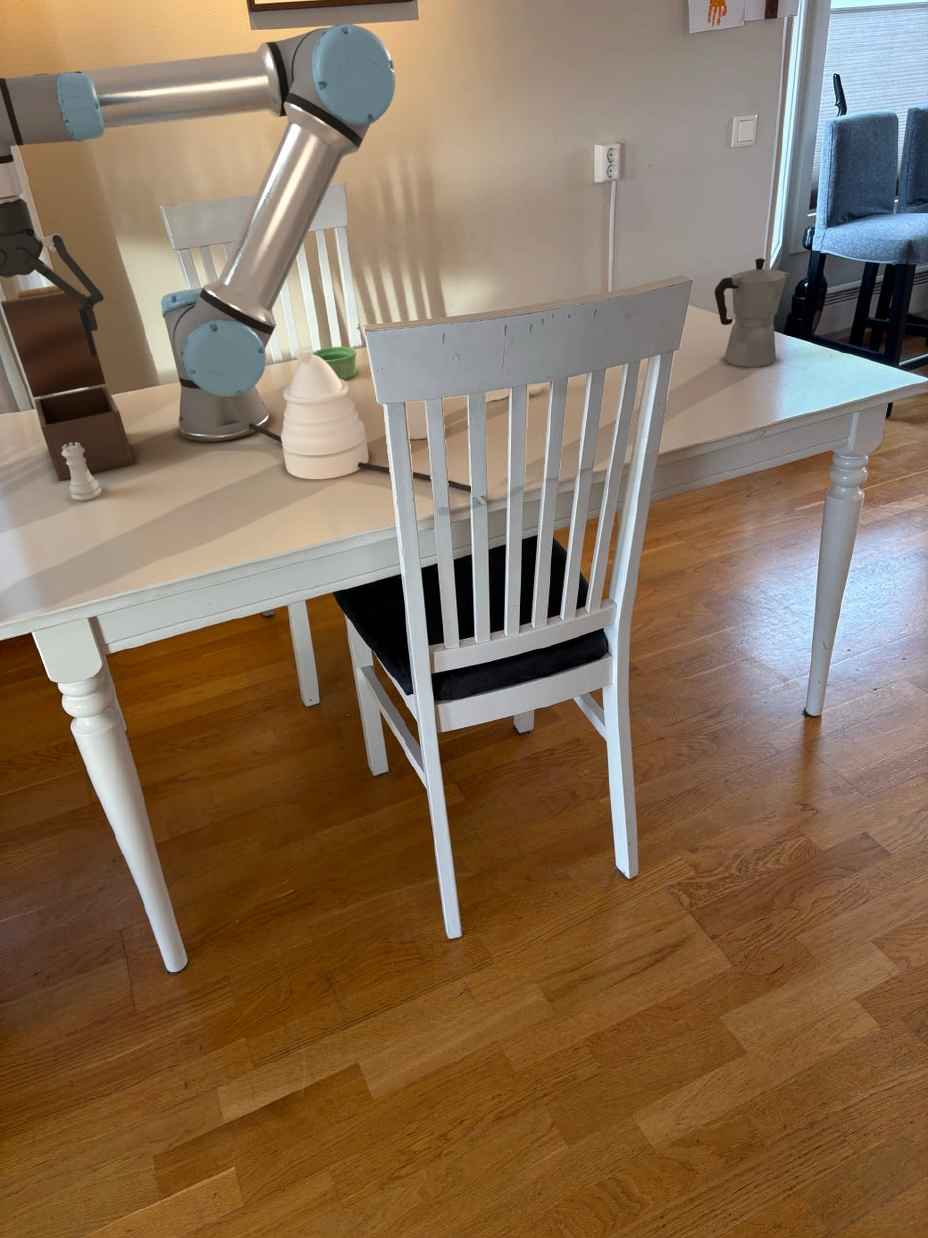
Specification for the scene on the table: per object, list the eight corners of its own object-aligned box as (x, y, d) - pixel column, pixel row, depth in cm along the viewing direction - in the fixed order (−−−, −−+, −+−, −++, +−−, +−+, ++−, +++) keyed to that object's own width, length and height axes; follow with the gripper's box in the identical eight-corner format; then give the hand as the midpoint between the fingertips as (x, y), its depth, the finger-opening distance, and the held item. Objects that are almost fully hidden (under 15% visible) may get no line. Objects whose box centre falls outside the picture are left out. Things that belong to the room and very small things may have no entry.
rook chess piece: (108, 492, 136) (93, 442, 132) (84, 504, 133) (67, 453, 128) (89, 487, 138) (74, 437, 134) (65, 498, 135) (48, 448, 131)
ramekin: (356, 381, 173) (353, 358, 170) (309, 384, 173) (306, 361, 171) (361, 366, 180) (358, 345, 178) (316, 369, 181) (313, 347, 178)
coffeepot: (763, 347, 173) (775, 248, 164) (795, 360, 166) (809, 257, 156) (694, 361, 169) (702, 260, 160) (724, 374, 162) (733, 269, 152)
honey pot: (349, 481, 133) (331, 361, 123) (271, 476, 137) (248, 358, 127) (380, 448, 143) (366, 334, 134) (307, 444, 147) (289, 332, 137)
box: (134, 463, 145) (119, 411, 140) (58, 480, 141) (40, 427, 136) (120, 434, 157) (106, 384, 152) (50, 449, 153) (33, 399, 148)
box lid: (80, 290, 140) (73, 274, 143) (0, 303, 136) (-4, 286, 140) (105, 383, 152) (99, 366, 155) (33, 397, 148) (27, 379, 151)
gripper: (91, 186, 124) (130, 341, 136) (-110, 208, 116) (-51, 370, 128) (96, 192, 118) (136, 353, 130) (-116, 215, 110) (-53, 385, 122)
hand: (44, 362), depth 129 cm, fingers open, 13 cm apart
